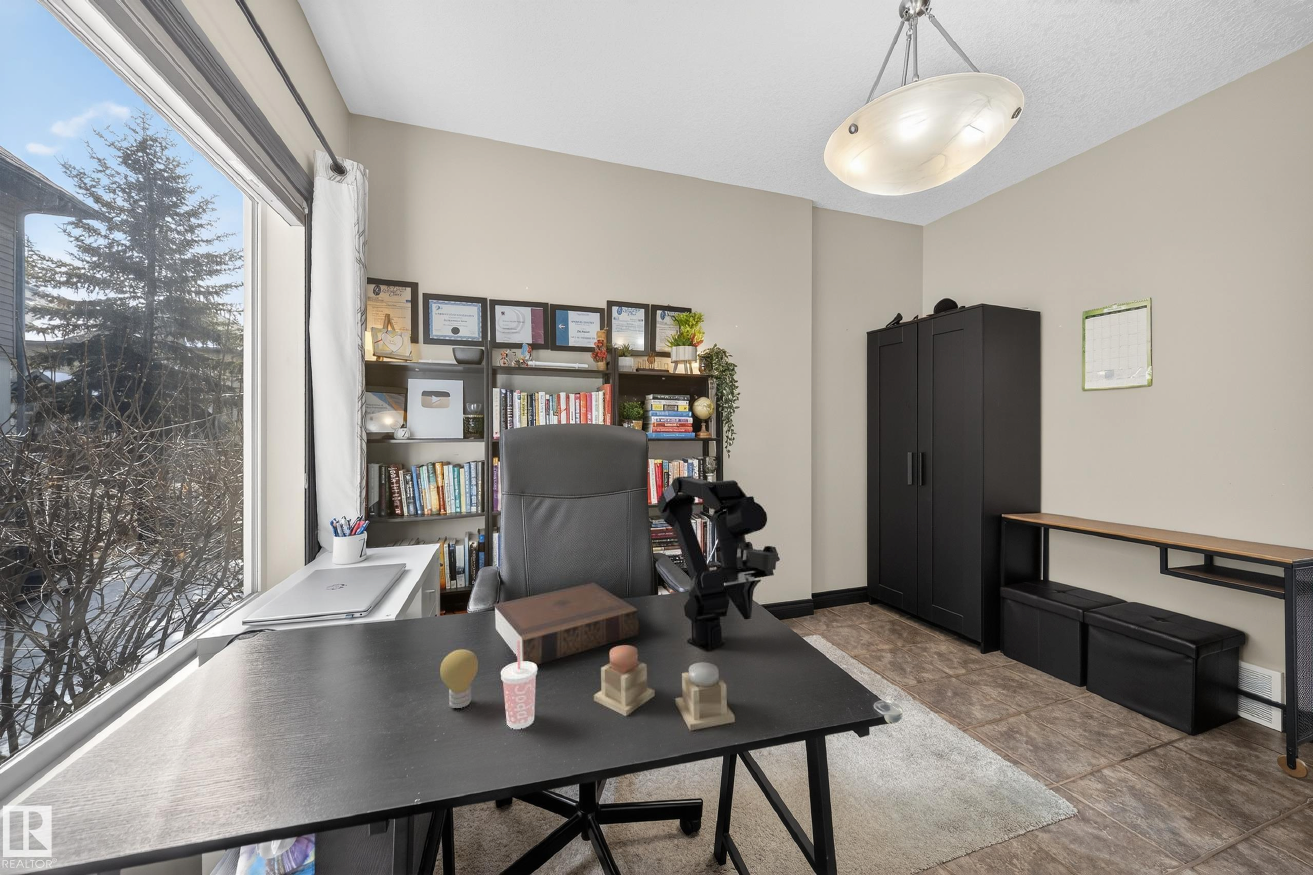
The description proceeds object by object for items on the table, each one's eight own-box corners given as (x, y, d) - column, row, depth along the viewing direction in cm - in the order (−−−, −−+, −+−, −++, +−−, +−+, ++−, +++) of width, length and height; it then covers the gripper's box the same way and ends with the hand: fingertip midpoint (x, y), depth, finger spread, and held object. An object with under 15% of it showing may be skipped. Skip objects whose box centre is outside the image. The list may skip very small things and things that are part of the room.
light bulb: (486, 698, 91) (484, 646, 90) (462, 718, 84) (460, 662, 84) (458, 692, 93) (457, 641, 92) (433, 711, 87) (431, 657, 86)
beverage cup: (499, 734, 80) (496, 651, 80) (504, 712, 86) (502, 635, 86) (537, 729, 81) (534, 647, 81) (540, 708, 87) (538, 632, 87)
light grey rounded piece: (685, 699, 87) (684, 664, 87) (712, 694, 88) (711, 660, 88) (695, 716, 82) (694, 679, 82) (723, 710, 83) (723, 674, 83)
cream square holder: (623, 681, 96) (622, 651, 95) (654, 695, 91) (654, 664, 90) (593, 700, 89) (593, 668, 89) (626, 716, 84) (625, 682, 84)
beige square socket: (675, 703, 88) (675, 671, 88) (716, 696, 90) (716, 664, 90) (690, 730, 80) (689, 695, 80) (734, 721, 82) (734, 687, 82)
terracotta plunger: (623, 674, 93) (622, 642, 93) (643, 683, 90) (643, 650, 90) (604, 686, 89) (603, 653, 89) (625, 696, 86) (624, 661, 86)
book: (638, 636, 117) (637, 609, 117) (524, 670, 102) (523, 640, 101) (594, 605, 137) (593, 582, 137) (493, 630, 122) (492, 604, 122)
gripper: (740, 532, 88) (759, 622, 83) (786, 531, 102) (805, 608, 97) (693, 543, 95) (708, 627, 90) (742, 541, 109) (757, 614, 104)
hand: (747, 619), depth 95 cm, fingers closed
